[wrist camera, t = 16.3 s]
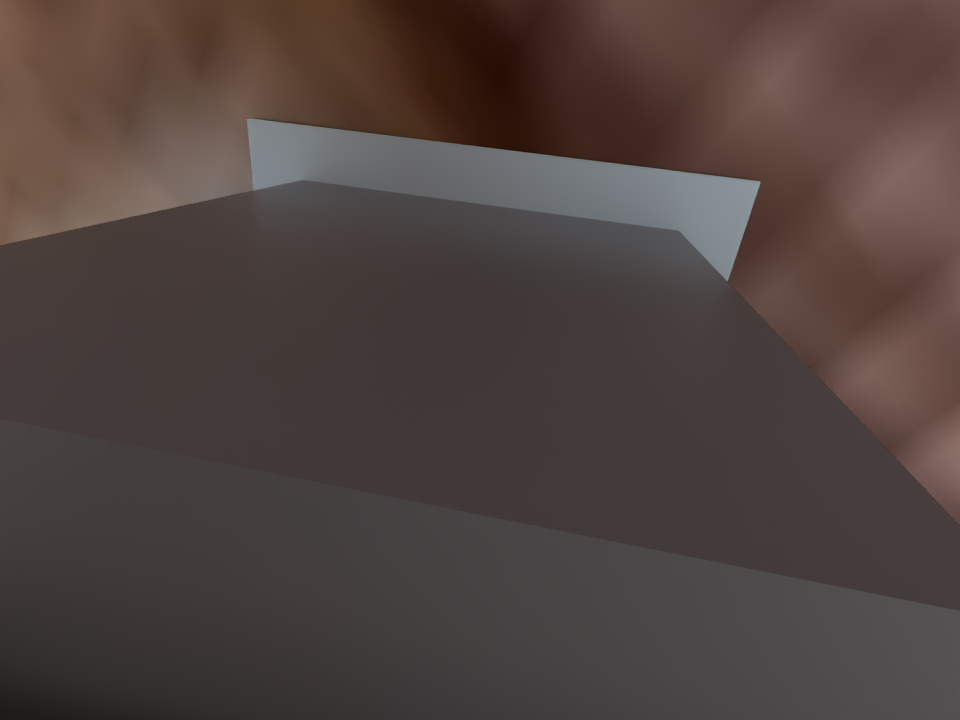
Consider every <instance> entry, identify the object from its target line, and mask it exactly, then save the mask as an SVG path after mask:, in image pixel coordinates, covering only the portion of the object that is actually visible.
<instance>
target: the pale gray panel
mask: <svg viewBox="0 0 960 720" xmlns="http://www.w3.org/2000/svg"><path fill="white" fill-rule="evenodd" d="M247 127H248V138H249V149H250V160H251V171H252V182H253V191H254V190H258V189H263V188H267V187H272V186H277V185H281V184H286V183H290V182H295V181H300V180H306V181H314V182H321V183H328V184H336V185H343V186H351V187H358V188H366V189H373V190H380V191H388V192H395V193H403V194H410V195H418V196H425V197H432V198H440V199H447V200H455V201H462V202H470V203H477V204H484V205H492V206H499V207H507V208H514V209H522V210H529V211H536V212H544V213H551V214H559V215H566V216H574V217H581V218H588V219H596V220H603V221H611V222H618V223H626V224H633V225H640V226H648V227H655V228H663V229H670V230H678V231H680V232H681V233H682V234H683V235H684V236H685V238H686V239H687V240H688V241H689V242H690V243H691V244H692V245H693V246H694V247H695V248H696V249H697V250H698V251H699V252H700V253H701V254H702V255H703V256H704V257H705V259H706V260H707V261H708V262H709V263H710V264H711V265H712V266H713V267H714V268H715V269H716V270H717V271H718V272H719V273H720V274H721V275H722V276H723V277H724V278H725V280H726V281H727V282H728V279H729V276H730V273H731V270H732V267H733V264H734V261H735V258H736V255H737V252H738V249H739V246H740V243H741V240H742V237H743V234H744V231H745V228H746V225H747V222H748V219H749V216H750V213H751V210H752V207H753V204H754V201H755V198H756V195H757V192H758V189H759V186H760V183H761V182H760V181H755V180H747V179H739V178H731V177H723V176H715V175H706V174H698V173H690V172H682V171H674V170H666V169H658V168H650V167H642V166H633V165H625V164H617V163H609V162H601V161H593V160H585V159H577V158H569V157H560V156H552V155H544V154H536V153H528V152H520V151H512V150H504V149H495V148H487V147H479V146H471V145H463V144H455V143H447V142H439V141H431V140H422V139H414V138H406V137H398V136H390V135H382V134H374V133H366V132H358V131H349V130H341V129H333V128H325V127H317V126H309V125H301V124H293V123H285V122H276V121H268V120H260V119H248V118H247Z"/></svg>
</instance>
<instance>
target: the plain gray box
mask: <svg viewBox="0 0 960 720" xmlns="http://www.w3.org/2000/svg"><path fill="white" fill-rule="evenodd" d="M0 720H960V525H959V524H958V523H957V522H956V521H955V520H954V519H953V518H952V517H951V516H950V515H949V514H948V513H947V511H946V510H945V509H944V508H943V507H942V506H941V505H940V504H939V503H938V502H937V501H936V500H935V499H934V498H933V497H932V496H931V495H930V494H929V493H928V492H927V490H926V489H925V488H924V487H923V486H922V485H921V484H920V483H919V482H918V481H917V480H916V479H915V478H914V477H913V476H912V475H911V474H910V473H909V472H908V471H907V469H906V468H905V467H904V466H903V465H902V464H901V463H900V462H899V461H898V460H897V459H896V458H895V457H894V456H893V455H892V454H891V453H890V452H889V451H888V450H887V449H886V447H885V446H884V445H883V444H882V443H881V442H880V441H879V440H878V439H877V438H876V437H875V436H874V435H873V434H872V433H871V432H870V431H869V430H868V429H867V428H866V426H865V425H864V424H863V423H862V422H861V421H860V420H859V419H858V418H857V417H856V416H855V415H854V414H853V413H852V412H851V411H850V410H849V409H848V408H847V407H846V405H845V404H844V403H843V402H842V401H841V400H840V399H839V398H838V397H837V396H836V395H835V394H834V393H833V392H832V391H831V390H830V389H829V388H828V387H827V386H826V384H825V383H824V382H823V381H822V380H821V379H820V378H819V377H818V376H817V375H816V374H815V373H814V372H813V371H812V370H811V369H810V368H809V367H808V366H807V365H806V363H805V362H804V361H803V360H802V359H801V358H800V357H799V356H798V355H797V354H796V353H795V352H794V351H793V350H792V349H791V348H790V347H789V346H788V345H787V344H786V342H785V341H784V340H783V339H782V338H781V337H780V336H779V335H778V334H777V333H776V332H775V331H774V330H773V329H772V328H771V327H770V326H769V325H768V324H767V323H766V321H765V320H764V319H763V318H762V317H761V316H760V315H759V314H758V313H757V312H756V311H755V310H754V309H753V308H752V307H751V306H750V305H749V304H748V303H747V302H746V300H745V299H744V298H743V297H742V296H741V295H740V294H739V293H738V292H737V291H736V290H735V289H734V288H733V287H732V286H731V285H730V284H729V283H728V282H727V281H726V280H725V278H724V277H723V276H722V275H721V274H720V273H719V272H718V271H717V270H716V269H715V268H714V267H713V266H712V265H711V264H710V263H709V262H708V261H707V260H706V259H705V257H704V256H703V255H702V254H701V253H700V252H699V251H698V250H697V249H696V248H695V247H694V246H693V245H692V244H691V243H690V242H689V241H688V240H687V239H686V238H685V236H684V235H683V234H682V233H681V232H680V231H678V230H670V229H663V228H655V227H648V226H640V225H633V224H626V223H618V222H611V221H603V220H596V219H588V218H581V217H574V216H566V215H559V214H551V213H544V212H536V211H529V210H522V209H514V208H507V207H499V206H492V205H484V204H477V203H470V202H462V201H455V200H447V199H440V198H432V197H425V196H418V195H410V194H403V193H395V192H388V191H380V190H373V189H366V188H358V187H351V186H343V185H336V184H328V183H321V182H314V181H306V180H300V181H295V182H290V183H286V184H281V185H277V186H272V187H267V188H263V189H258V190H254V191H249V192H244V193H240V194H235V195H231V196H226V197H221V198H217V199H212V200H208V201H203V202H198V203H194V204H189V205H185V206H180V207H175V208H171V209H166V210H162V211H157V212H152V213H148V214H143V215H139V216H134V217H129V218H125V219H120V220H116V221H111V222H106V223H102V224H97V225H92V226H88V227H83V228H79V229H74V230H69V231H65V232H60V233H56V234H51V235H46V236H42V237H37V238H33V239H28V240H23V241H19V242H14V243H10V244H5V245H0Z"/></svg>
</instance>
